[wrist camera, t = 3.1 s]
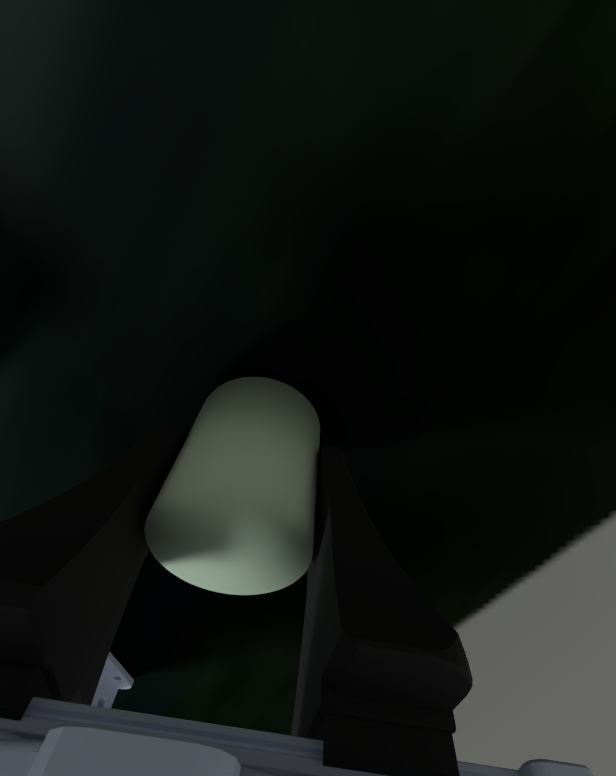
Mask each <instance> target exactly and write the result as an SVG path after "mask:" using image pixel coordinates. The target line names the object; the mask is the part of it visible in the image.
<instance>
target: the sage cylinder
mask: <svg viewBox="0 0 616 776" xmlns="http://www.w3.org/2000/svg"><path fill="white" fill-rule="evenodd" d="M319 442H320V422H319V419H318V416H317V413H316V411H315V409H314V408H313V406H312V404H311V403H310V402H309V401H308V400H307V398H306V397H304V396H303V395H302V394H301V393H300V392H299V391H297V390H296V389H294V388H293V387H291V386H289V385H287V384H285V383H283V382H280V381H277V380H274V379H270V378H264V377H243V378H238V379H234V380H231V381H229V382H226V383H224V384H222V385H221V386H219V387H218V388H216V389H215V390H214V391H213V392H212V393H211V394H210V395H209V396H208V398H207V399H206V401H205V403H204V405H203V407H202V409H201V411H200V413H199V415H198V417H197V419H196V421H195V423H194V425H193V427H192V429H191V431H190V433H189V434H188V436H187V438H186V440H185V442H184V444H183V446H182V448H181V450H180V452H179V454H178V456H177V458H176V460H175V462H174V464H173V466H172V468H171V470H170V472H169V474H168V476H167V478H166V480H165V482H164V484H163V486H162V488H161V490H160V492H159V494H158V496H157V498H156V500H155V502H154V504H153V506H152V508H151V510H150V512H149V514H148V516H147V519H146V522H145V529H144V532H145V539H146V542H147V545H148V547H149V549H150V551H151V552H152V554H153V555H154V557H155V558H156V559H157V560H158V561H159V563H160V564H161V565H163V566H164V567H165V568H166V569H167V570H168V571H170V572H171V573H173V574H174V575H175V576H177V577H179V578H181V579H182V580H184V581H186V582H188V583H190V584H193V585H195V586H198V587H200V588H204V589H207V590H210V591H214V592H219V593H225V594H233V595H256V594H264V593H269V592H273V591H277V590H279V589H282V588H285V587H287V586H289V585H291V584H292V583H294V582H295V581H297V580H298V579H299V578H300V577H301V576H302V575H303V574H304V573H305V572H306V571H307V569H308V567H309V565H310V563H311V560H312V556H313V540H314V523H315V507H316V491H317V474H318V458H319Z"/></svg>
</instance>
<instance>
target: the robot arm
mask: <svg viewBox="0 0 616 776" xmlns="http://www.w3.org/2000/svg"><path fill="white" fill-rule="evenodd" d="M188 434H189V420H187V419H181V418H176V417H170V418H168V419H167V420H166V421H164V422H163V423H162V424H161V425H160V426H158V427H157V428H156V429H155V430H154V431H152V432H151V433H150V434H149V435H148V436H146V437H145V438H144V439H143V440H141V441H140V442H139V443H137V444H136V445H135V446H134V447H132V448H131V449H130V450H128V451H127V452H126V453H124V454H123V455H122V456H120V457H119V458H117V459H116V460H115V461H113V462H112V463H110V464H109V465H107V466H106V467H104V468H103V469H102V470H100V471H99V472H97V473H96V474H94V475H92V476H91V477H89V478H88V479H86V480H84V481H83V482H81V483H79V484H78V485H76V486H74V487H72V488H71V489H69V490H67V491H65V492H64V493H62V494H60V495H58V496H56V497H54V498H52V499H50V500H48V501H46V502H44V503H42V504H40V505H38V506H36V507H34V508H32V509H30V510H28V511H25V512H23V513H21V514H19V515H16V516H14V517H12V518H9V519H7V520H4V521H2V522H0V776H593V775H592V773H591V770H590V769H589V768H588V767H586V766H584V765H579V764H572V763H566V762H559V761H553V760H546V759H536V760H530V761H528V762H526V763H524V764H523V765H522V766H521V767H520V768H519V770H513V769H506V768H500V767H493V766H487V765H480V764H473V763H467V762H460V761H457V759H456V753H455V748H454V743H453V737H452V733H454V732H455V731H456V725H455V720H454V715H453V710H454V708H455V707H456V706H457V705H458V704H459V703H460V702H461V701H462V700H463V699H464V698H465V697H466V696H467V694H468V693H469V691H470V689H471V688H472V676H471V672H470V668H469V664H468V660H467V658H466V654H465V651H464V648H463V646H462V643H461V641H460V637H459V635H458V633H457V632H456V631H455V630H454V628H453V627H452V626H451V625H450V624H449V623H448V622H447V621H446V620H445V619H444V618H443V617H442V616H441V615H440V614H439V613H438V612H437V611H436V610H435V609H434V608H433V607H432V605H431V604H430V603H429V602H428V601H427V600H426V599H425V597H424V596H423V595H422V594H421V593H420V592H419V590H418V589H417V588H416V587H415V585H414V584H413V583H412V581H411V580H410V579H409V577H408V576H407V575H406V573H405V572H404V571H403V570H402V568H401V567H400V566H399V564H398V563H397V561H396V560H395V559H394V557H393V556H392V554H391V553H390V551H389V550H388V548H387V547H386V545H385V543H384V542H383V540H382V538H381V537H380V535H379V534H378V532H377V530H376V528H375V527H374V525H373V523H372V521H371V519H370V517H369V515H368V513H367V511H366V509H365V507H364V505H363V503H362V501H361V499H360V497H359V494H358V492H357V490H356V488H355V485H354V483H353V480H352V478H351V475H350V472H349V470H348V467H347V464H346V461H345V458H344V454H343V451H342V449H341V448H339V447H333V446H328V445H323V444H322V448H321V451H320V455H319V459H318V474H317V491H316V507H315V523H314V540H313V556H312V560H311V563H310V565H309V567H308V569H307V596H306V606H305V616H304V626H303V636H302V646H301V655H300V664H299V673H298V682H297V691H296V699H295V708H294V716H293V724H292V732H291V736H289V735H282V734H275V733H269V732H262V731H256V730H249V729H242V728H236V727H229V726H223V725H216V724H209V723H203V722H196V721H190V720H183V719H176V718H170V717H163V716H157V715H150V714H143V713H137V712H130V711H124V710H117V709H111V706H112V704H113V701H114V698H115V696H116V693H117V691H118V689H129V688H131V687H132V684H133V682H134V680H133V678H132V677H131V676H130V675H129V674H128V672H127V671H126V670H125V669H124V668H123V666H122V665H121V664H120V663H119V662H118V661H117V659H116V658H115V657H114V656H113V655H112V653H111V652H110V649H111V646H112V643H113V640H114V638H115V635H116V632H117V629H118V626H119V624H120V621H121V618H122V616H123V613H124V610H125V608H126V605H127V602H128V600H129V597H130V594H131V592H132V589H133V587H134V584H135V582H136V579H137V577H138V574H139V572H140V569H141V567H142V564H143V562H144V560H145V558H146V555H147V553H148V551H149V547H148V545H147V542H146V539H145V532H144V529H145V522H146V519H147V516H148V514H149V512H150V510H151V508H152V506H153V504H154V502H155V500H156V498H157V496H158V494H159V492H160V490H161V488H162V486H163V484H164V482H165V480H166V478H167V476H168V474H169V472H170V470H171V468H172V466H173V464H174V462H175V460H176V458H177V456H178V454H179V452H180V450H181V448H182V446H183V444H184V442H185V440H186V438H187V436H188Z"/></svg>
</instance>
